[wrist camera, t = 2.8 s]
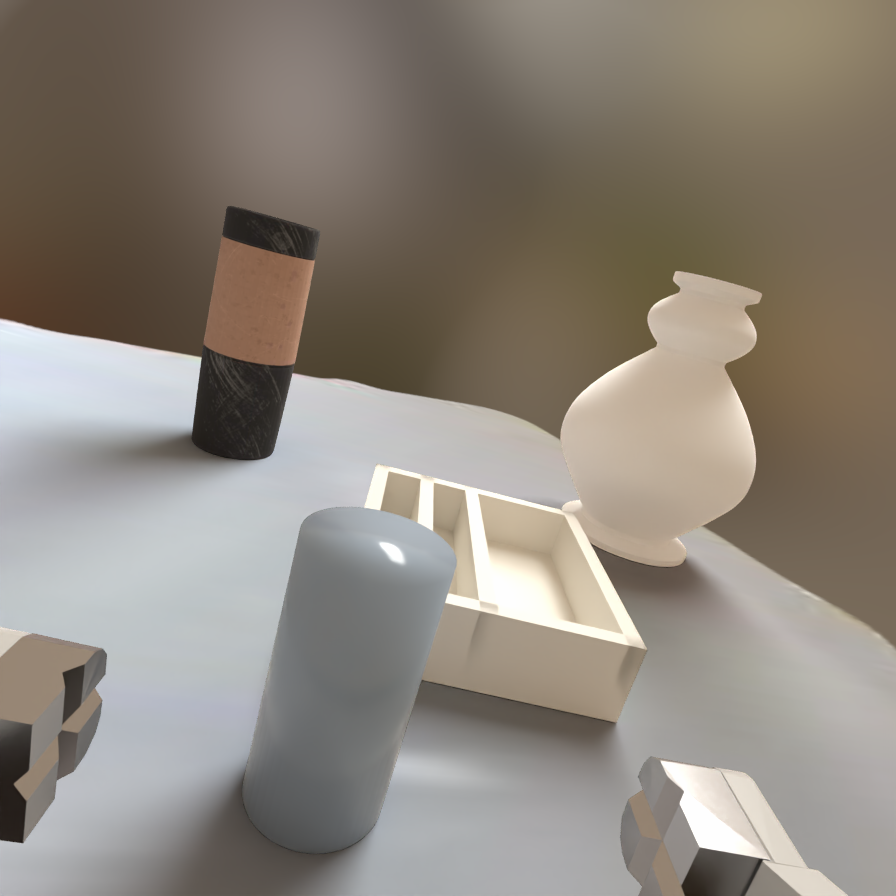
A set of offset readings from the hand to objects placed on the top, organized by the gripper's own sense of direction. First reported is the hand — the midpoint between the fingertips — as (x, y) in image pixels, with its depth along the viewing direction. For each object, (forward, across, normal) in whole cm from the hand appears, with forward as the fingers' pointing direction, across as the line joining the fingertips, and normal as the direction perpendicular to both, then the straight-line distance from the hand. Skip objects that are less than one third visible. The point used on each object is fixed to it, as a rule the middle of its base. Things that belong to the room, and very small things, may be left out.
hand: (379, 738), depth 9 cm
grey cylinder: (+12, +1, +14) cm, 18 cm away
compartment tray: (+29, -6, +14) cm, 33 cm away
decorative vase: (+49, -24, +14) cm, 56 cm away
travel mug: (+47, +14, +14) cm, 51 cm away
